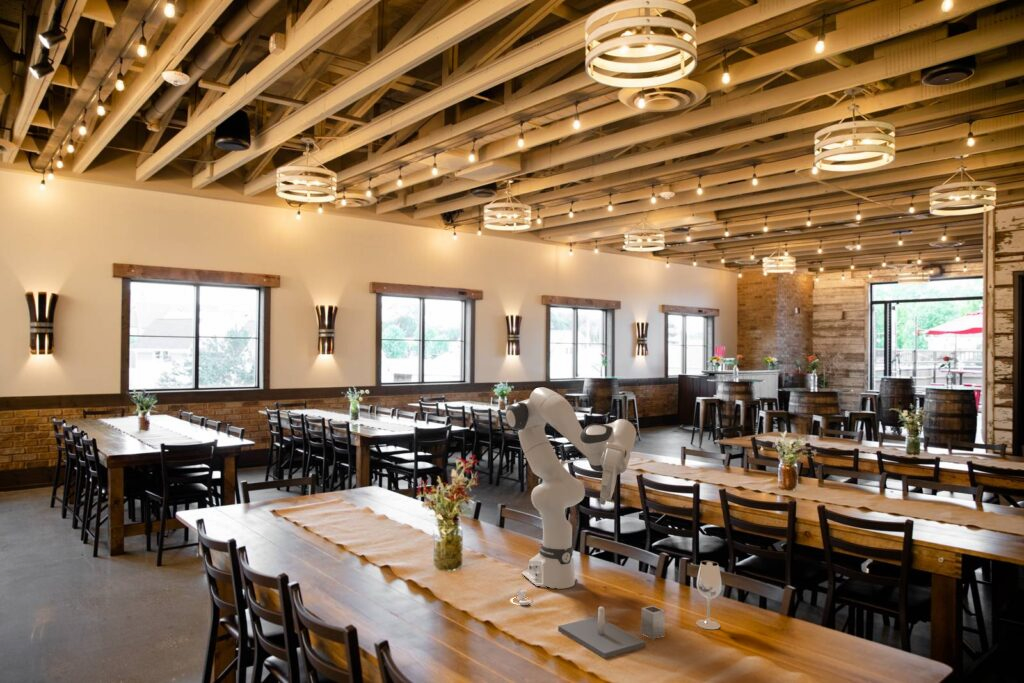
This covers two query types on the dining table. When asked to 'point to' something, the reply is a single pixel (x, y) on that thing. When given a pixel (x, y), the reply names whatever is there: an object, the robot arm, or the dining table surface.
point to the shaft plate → (601, 636)
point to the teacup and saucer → (521, 597)
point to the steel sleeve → (652, 622)
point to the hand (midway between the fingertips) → (602, 494)
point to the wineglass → (709, 589)
